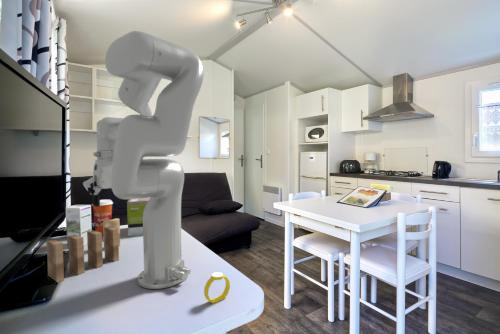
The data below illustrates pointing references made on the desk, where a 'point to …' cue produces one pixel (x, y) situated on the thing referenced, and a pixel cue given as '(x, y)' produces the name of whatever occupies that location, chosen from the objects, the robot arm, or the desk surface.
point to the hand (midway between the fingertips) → (110, 203)
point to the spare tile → (112, 223)
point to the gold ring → (213, 277)
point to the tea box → (136, 215)
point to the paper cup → (102, 214)
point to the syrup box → (78, 221)
